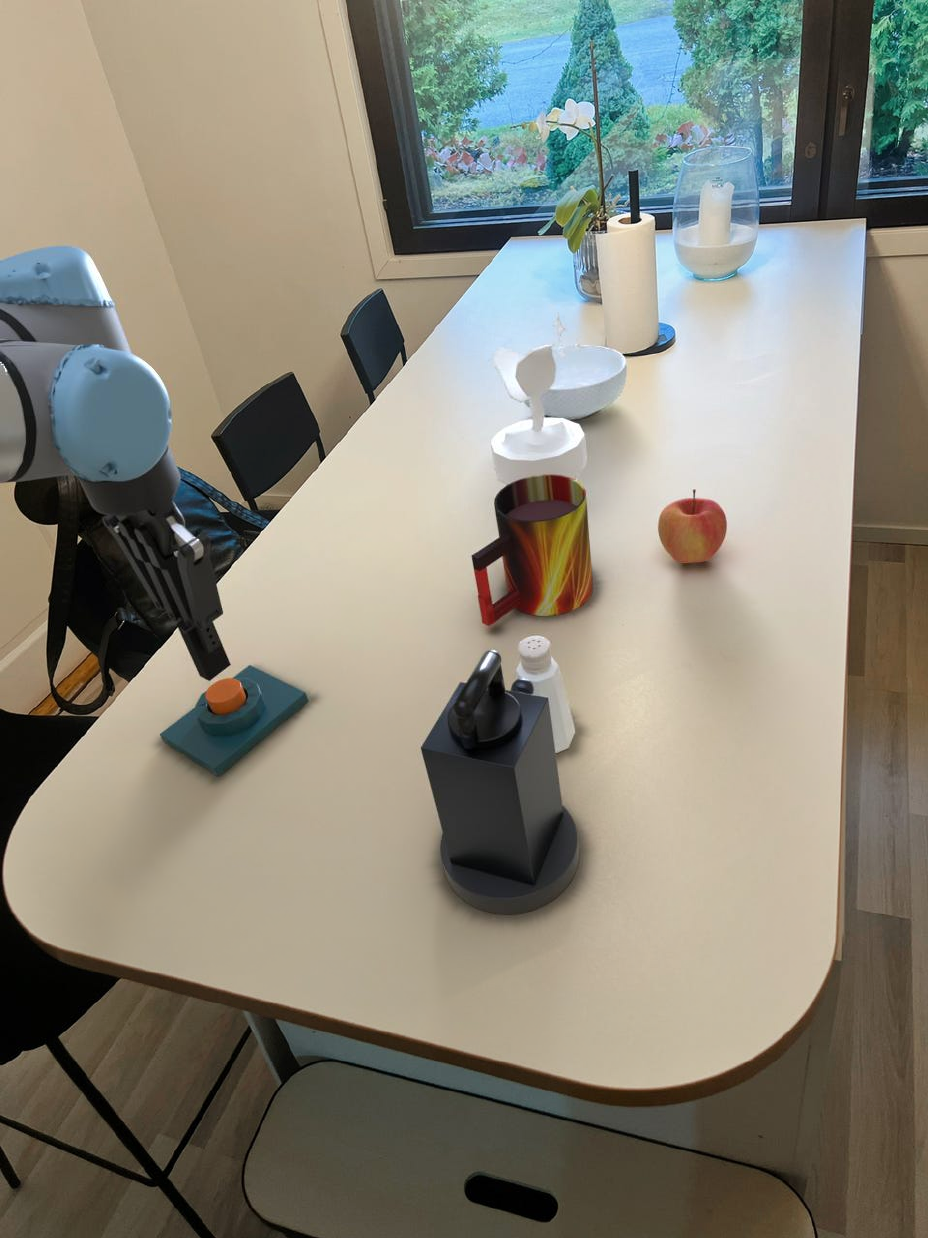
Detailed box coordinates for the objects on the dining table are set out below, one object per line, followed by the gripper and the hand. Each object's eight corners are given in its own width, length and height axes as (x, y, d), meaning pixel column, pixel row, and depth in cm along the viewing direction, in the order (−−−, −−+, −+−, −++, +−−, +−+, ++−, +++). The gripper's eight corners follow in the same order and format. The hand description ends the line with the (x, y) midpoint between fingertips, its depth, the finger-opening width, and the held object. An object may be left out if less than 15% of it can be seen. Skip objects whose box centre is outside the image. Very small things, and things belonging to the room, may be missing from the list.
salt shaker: (516, 718, 83) (501, 628, 76) (573, 712, 82) (563, 621, 76) (518, 760, 79) (502, 668, 72) (578, 754, 78) (568, 661, 71)
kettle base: (491, 941, 65) (487, 925, 64) (420, 845, 73) (415, 830, 72) (607, 865, 68) (606, 849, 67) (528, 782, 76) (525, 766, 75)
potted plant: (607, 511, 110) (594, 312, 94) (523, 540, 107) (497, 342, 92) (561, 472, 119) (543, 286, 104) (483, 498, 117) (453, 312, 102)
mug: (482, 634, 94) (465, 541, 86) (522, 561, 103) (510, 472, 96) (569, 645, 90) (559, 548, 83) (602, 568, 100) (596, 476, 93)
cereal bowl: (638, 423, 127) (636, 377, 123) (525, 441, 128) (519, 396, 124) (617, 378, 141) (615, 335, 136) (515, 395, 142) (509, 353, 137)
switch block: (218, 777, 83) (207, 755, 81) (163, 742, 88) (152, 721, 86) (308, 700, 90) (301, 679, 88) (253, 672, 95) (244, 651, 93)
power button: (226, 720, 85) (220, 707, 84) (203, 707, 87) (197, 695, 86) (253, 698, 87) (248, 685, 86) (231, 686, 89) (225, 673, 88)
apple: (656, 576, 97) (655, 515, 92) (661, 540, 103) (659, 480, 98) (725, 577, 95) (727, 514, 90) (726, 540, 101) (728, 479, 96)
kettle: (534, 885, 66) (505, 720, 55) (450, 863, 68) (408, 701, 58) (578, 778, 73) (560, 615, 63) (501, 762, 76) (472, 603, 65)
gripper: (205, 446, 69) (287, 669, 83) (115, 420, 76) (205, 629, 90) (126, 490, 65) (227, 717, 79) (38, 459, 72) (145, 671, 86)
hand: (215, 670), depth 85 cm, fingers closed
